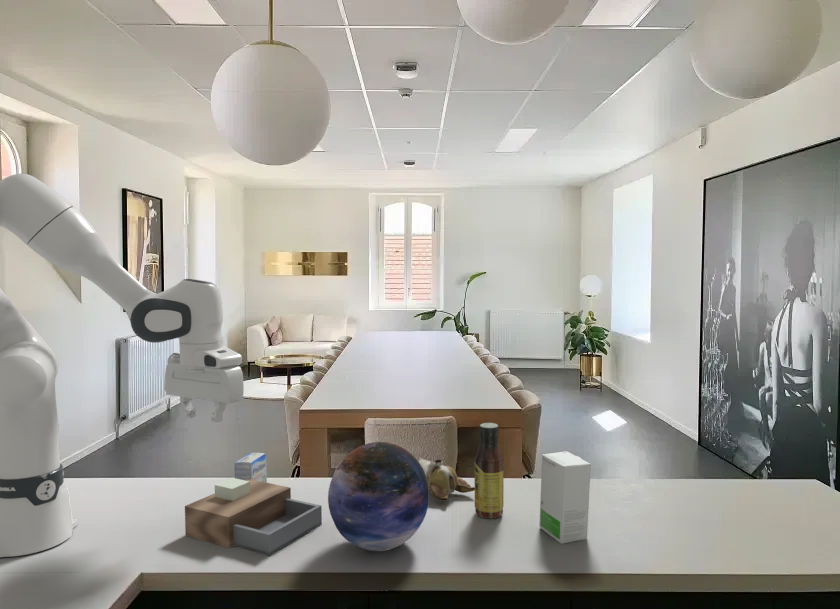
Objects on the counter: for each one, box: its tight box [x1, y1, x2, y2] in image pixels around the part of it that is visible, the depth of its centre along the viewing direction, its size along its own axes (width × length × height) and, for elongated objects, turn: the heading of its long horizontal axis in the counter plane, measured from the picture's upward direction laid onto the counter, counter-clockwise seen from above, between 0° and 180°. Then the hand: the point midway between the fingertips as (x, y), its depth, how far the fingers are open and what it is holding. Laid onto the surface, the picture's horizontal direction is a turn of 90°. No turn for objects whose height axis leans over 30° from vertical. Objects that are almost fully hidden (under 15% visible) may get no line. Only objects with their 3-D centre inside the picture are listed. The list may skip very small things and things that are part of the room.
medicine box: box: [234, 452, 268, 483], centre depth 148 cm, size 8×4×9 cm, turn 168°
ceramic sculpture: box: [417, 457, 475, 502], centre depth 147 cm, size 11×9×15 cm
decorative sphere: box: [327, 441, 430, 552], centre depth 119 cm, size 19×20×20 cm
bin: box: [233, 498, 323, 557], centre depth 125 cm, size 9×16×4 cm, turn 152°
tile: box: [214, 477, 250, 501], centre depth 130 cm, size 5×5×2 cm
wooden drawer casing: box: [184, 479, 292, 549], centre depth 130 cm, size 12×18×6 cm, turn 152°
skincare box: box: [539, 450, 591, 545], centre depth 125 cm, size 8×7×16 cm
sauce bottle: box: [473, 422, 505, 519], centre depth 134 cm, size 7×6×20 cm
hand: (203, 419), depth 133 cm, fingers open, 7 cm apart
